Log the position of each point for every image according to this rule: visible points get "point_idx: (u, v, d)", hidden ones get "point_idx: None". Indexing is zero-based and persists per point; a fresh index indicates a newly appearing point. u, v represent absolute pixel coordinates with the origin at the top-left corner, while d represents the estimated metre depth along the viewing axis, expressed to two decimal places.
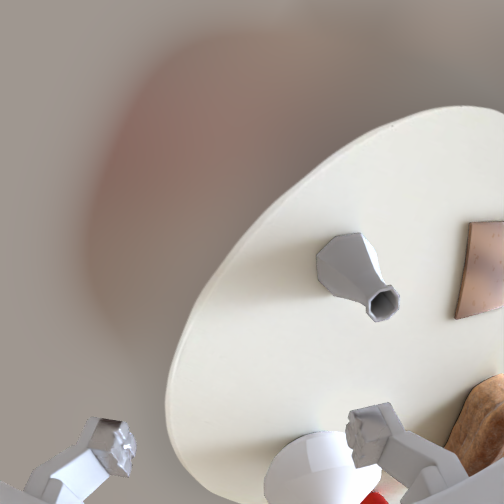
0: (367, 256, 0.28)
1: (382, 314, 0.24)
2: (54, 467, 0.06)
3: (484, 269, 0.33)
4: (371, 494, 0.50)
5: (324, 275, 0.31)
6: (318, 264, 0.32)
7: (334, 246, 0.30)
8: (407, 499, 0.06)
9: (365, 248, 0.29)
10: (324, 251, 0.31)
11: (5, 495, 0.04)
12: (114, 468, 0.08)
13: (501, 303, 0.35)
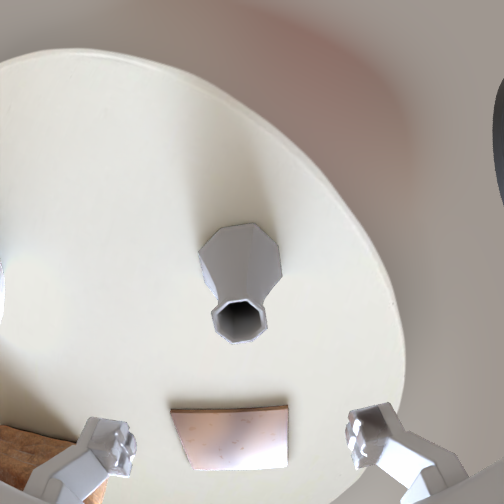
0: (269, 287, 0.23)
1: None
2: (54, 467, 0.06)
3: (234, 432, 0.33)
4: None
5: (233, 235, 0.24)
6: (243, 227, 0.25)
7: (270, 244, 0.25)
8: (407, 499, 0.06)
9: (274, 284, 0.24)
10: (261, 233, 0.25)
11: (5, 494, 0.04)
12: (114, 468, 0.08)
13: (192, 458, 0.35)
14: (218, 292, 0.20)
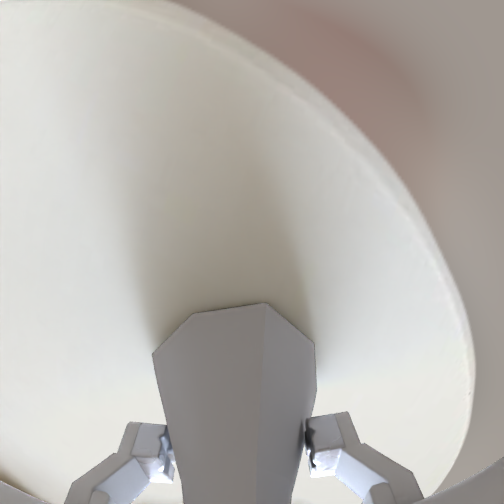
0: (300, 447, 0.09)
1: None
2: (96, 479, 0.06)
3: None
4: None
5: (219, 339, 0.10)
6: (242, 313, 0.11)
7: (300, 351, 0.11)
8: None
9: None
10: (281, 326, 0.11)
11: (5, 495, 0.04)
12: (158, 474, 0.08)
13: None
14: None
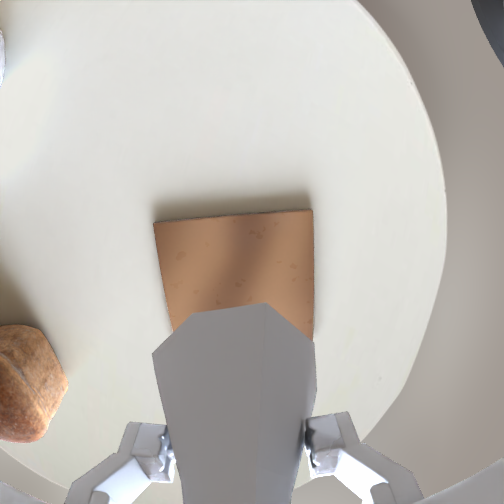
0: (300, 447, 0.09)
1: None
2: (96, 479, 0.06)
3: (239, 260, 0.27)
4: None
5: (219, 338, 0.10)
6: (242, 313, 0.11)
7: (300, 350, 0.11)
8: None
9: None
10: (282, 325, 0.11)
11: (5, 494, 0.04)
12: (158, 474, 0.08)
13: None
14: None
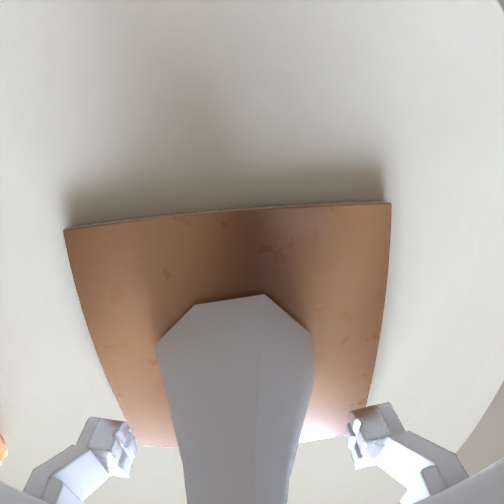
0: (297, 434, 0.10)
1: None
2: (54, 467, 0.06)
3: None
4: None
5: (220, 328, 0.11)
6: (242, 304, 0.12)
7: (297, 340, 0.12)
8: (407, 499, 0.06)
9: (304, 416, 0.11)
10: (279, 316, 0.12)
11: (5, 494, 0.04)
12: (114, 468, 0.08)
13: (132, 413, 0.14)
14: (188, 491, 0.06)
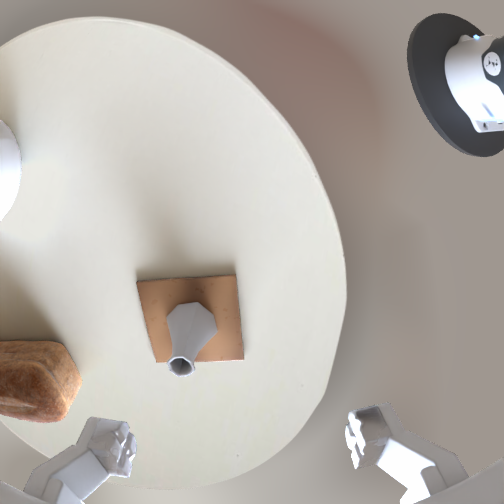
0: (204, 342, 0.39)
1: (171, 365, 0.33)
2: (54, 467, 0.06)
3: None
4: None
5: (184, 311, 0.40)
6: (191, 304, 0.41)
7: (206, 316, 0.40)
8: (407, 499, 0.06)
9: (209, 339, 0.40)
10: (202, 308, 0.41)
11: (5, 495, 0.04)
12: (114, 468, 0.08)
13: (155, 345, 0.43)
14: (172, 348, 0.35)
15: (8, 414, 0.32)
